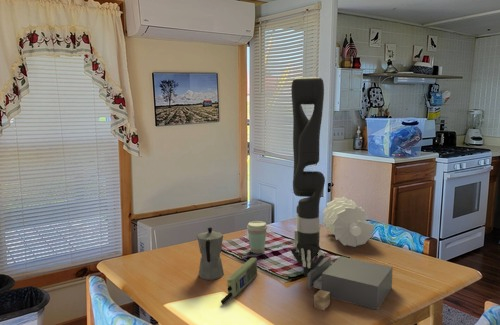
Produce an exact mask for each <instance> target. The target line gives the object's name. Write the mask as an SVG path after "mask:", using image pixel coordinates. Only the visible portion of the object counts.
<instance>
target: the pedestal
mask: <svg viewBox="0 0 500 325" xmlns="http://www.w3.org/2000/svg"><path fill="white" fill-rule="evenodd" d="M330 300H331V299H330V292H327V291H323V290H322V289H319V290H318V291H317V292H316V293H315V294H314V295H313V301H314V302H313V307H314V308H315V309H318V310H322V311H325V310H326V309H327V308H328V306H330V304H331V303H330V302H331V301H330Z"/></svg>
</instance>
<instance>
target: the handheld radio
mask: <svg viewBox="0 0 500 325" xmlns="http://www.w3.org/2000/svg"><path fill="white" fill-rule="evenodd" d="M257 260H258V258H257V257H250V258H249V259H248V260H247V261H246V262H244V263H243V264H242V265H241V266H240V267H239V268H237V270H235V271H234V272H233V273H232V274H231V275H230V276H228V277H227V278H226V280H227V281H226V283H227V294H226V296H225V297H223V298H222V299H221V300H220V303H221V304H222V305H224V304H226V303H227V301H228V300H229V299H230V298H233V299H234V298H235V297H237V296H238V294H239V293H241V292H242V291H243V290H244V289H245V288H246V287H247V286H248V285H249V284H250V283H251V282H252V281H253V280H254V279H255V278H256V277H257V276H258V261H257Z"/></svg>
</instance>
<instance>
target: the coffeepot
mask: <svg viewBox="0 0 500 325" xmlns="http://www.w3.org/2000/svg"><path fill="white" fill-rule="evenodd" d="M196 237H197V242H198V247H199V253H200V254H201V257H200V263H199V269H198V276H199V277H200V278H201V279H202V280H206V281H207V280H208V281H215V280H218V279H220V278H222V277H223V276H224V273H225V272H224V268H223V262H222V258H221V253H222V249H223V248H222V246H223V239H224V235H223V234H222V233H221V232H220V231H219V232H218V231H215V230H213V227H211V226H210V227H209V226H208V227H207V231H206V232H200V233H199V234H197V236H196Z"/></svg>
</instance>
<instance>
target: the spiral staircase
mask: <svg viewBox="0 0 500 325" xmlns="http://www.w3.org/2000/svg"><path fill="white" fill-rule="evenodd" d="M322 214H323V224H324V223H325V227H326V229H329V233H331V235H334V237H335V240H336V241H339V242H340V243H341V244H342V245H343V246H344V247H346V246H348V247H349V246H350V247H354V248H356V247H358V246H361V245H364V244H367V242H368V241H369V239H371V238H372V237H373V236H374V235H373V232H374V230H375V227H376V225H375V224H372V223H371V221H367V220H366V219H368V218H369V217H368V214H367V211H366V209H363V208H362V206H358V205H357V204H356V202H355V201H353V199H349V198H347V197H346V196H342V197H333V200H331V201H329V202H327V203H326V207H325V209H324V210H323V211H322Z"/></svg>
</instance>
